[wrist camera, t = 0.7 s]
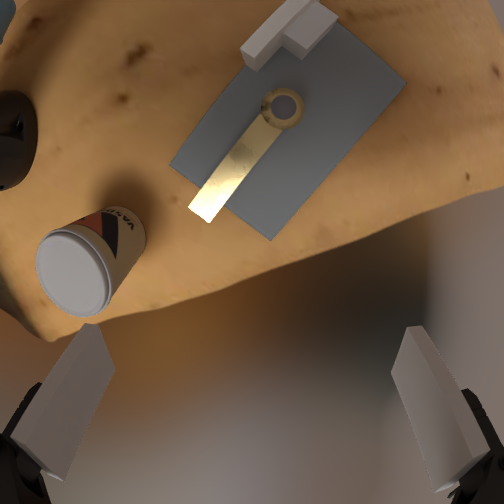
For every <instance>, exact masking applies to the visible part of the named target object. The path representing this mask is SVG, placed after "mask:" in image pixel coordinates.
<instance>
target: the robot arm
mask: <svg viewBox="0 0 504 504" xmlns="http://www.w3.org/2000/svg"><path fill="white" fill-rule="evenodd" d="M15 12H16V5H15V2H14V1H13V0H0V45H1V44H2V42H3V37H4V35H5V33H6V31H7V29H8V27H9V25H10V23H11V21H12V19H13V17H14V15H15ZM36 142H37V124H36V117H35V113H34V110H33V107H32V104H31V103H30V101H29V99H28V98H27V97H26V96H25V95H24V94H23V93H21V92H19V91H14V90H12V91H0V191H4V190H7V189H9V188H12V187H14V186H16V185H18V184H19V183H20V182H21V181H22V180H23V179H24V178H25V176H26V175H27V173H28V171H29V169H30V167H31V164H32V161H33V158H34V154H35V149H36ZM114 371H115V367H114V365H113V362H112V360H111V357H110V355H109V352H108V350H107V347H106V344H105V342H104V339H103V336H102V334H101V331H100V328H99V325H95V324H87V323H85V324H84V325H83V326H82V328H81V329H80V330H79V332H78V333H77V335H76V336H75V337H74V339H73V340H72V342H71V343H70V344H69V346H68V347H67V348H66V350H65V351H64V353H63V354H62V356H61V357H60V358H59V360H58V361H57V363H56V364H55V366H54V367H53V369H52V370H51V371H50V373H49V375H48V376H47V378H46V379H45V381H44V382H43V384H42V383H39V382H38V383H37V384H36V385H34V386H33V387H32V388H31V389H30V390H29V391H28V392H27V394H26V396H25V397H24V400H23V401H22V402H21V403H20V405H19V408H17V410H16V411H15V413H14V415H13V416H12V418H11V419H10V421H9V423H8V424H7V426H6V428H5V430H4V431H3V433H2V434H0V504H51V501H50V498H49V496H48V492H47V489H46V486H45V483H44V479H43V477H42V475H41V473H40V471H41V469H43V470H44V471H45V472H46V473H47V474H48V475H50V476H52V477H54V478H57V479H59V480H61V481H63V482H64V481H65V478H66V476H67V473H68V471H69V468H70V466H71V464H72V461H73V459H74V457H75V454H76V452H77V450H78V447H79V445H80V443H81V441H82V438H83V436H84V434H85V432H86V429H87V427H88V425H89V423H90V420H91V419H92V416H93V414H94V412H95V410H96V408H97V406H98V404H99V402H100V399H101V397H102V395H103V393H104V391H105V389H106V387H107V385H108V383H109V381H110V379H111V377H112V375H113V373H114ZM391 374H392V377H393V379H394V382H395V384H396V387H397V389H398V392H399V394H400V396H401V399H402V402H403V404H404V407H405V409H406V412H407V415H408V417H409V420H410V423H411V425H412V428H413V431H414V434H415V437H416V440H417V442H418V445H419V448H420V451H421V454H422V457H423V460H424V463H425V466H426V469H427V473H428V476H429V479H430V482H431V486H432V489H433V493H436V492H438V491H441V490H444V489H446V488H449V487H451V486H452V485H453V484H455V483H456V482H457V481H458V480H459V483H460V486H458V487H457V488H456V489H455V490H454V491H452V492H451V493H450V494H449V495H448V497H447V498H450V497H452V496H453V495H454V494H455V495H454V498H453V500H452V502H451V504H504V447H503V445H502V444H501V442H500V440H499V438H498V436H497V434H496V432H495V430H494V428H493V426H492V424H491V422H490V420H489V418H488V416H486V412H485V410H484V409H483V408H482V405H481V403H480V401H479V399H478V398H477V396H476V395H475V394H474V393H472V392H471V391H470V390H469V389H468V388H467V389H464V390H460V389H459V387H458V385H457V383H456V381H455V379H454V378H453V376H452V374H451V372H450V371H449V369H448V367H447V366H446V364H445V362H444V361H443V359H442V357H441V355H440V354H439V352H438V351H437V349H436V347H435V346H434V344H433V343H432V341H431V339H430V338H429V336H428V334H427V333H426V331H425V330H424V328H423V327H422V326H415V327H407V329H406V332H405V335H404V338H403V341H402V344H401V347H400V350H399V353H398V355H397V358H396V361H395V363H394V366H393V369H392V371H391Z"/></svg>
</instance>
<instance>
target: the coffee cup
mask: <svg viewBox="0 0 504 504" xmlns="http://www.w3.org/2000/svg"><path fill="white" fill-rule="evenodd" d="M145 242H146V236H145V231H144V227H143V225H142V223H141V221H140V220H139V218H138V217H137V216H136V215H135V214H134V213H133V212H131V211H130V210H128V209H126V208H124V207H120V206H112V207H108V208H105V209H102V210H100V211H97V212H95V213H93V214H90V215H88V216H86V217H83V218H81V219H79V220H77V221H74V222H72V223H70V224H68V225H66V226H64V227H62V228H59V229H55V230H53V231H51V232H49V233H48V234H47V235H46V236H45V237H44V238H43V239H42V241H41V243H40V245H39V248H38V250H37V254H36V271H37V275H38V279H39V281H40V284H41V286H42V288H43V290H44V291H45V293H46V294H47V296H48V297H49V298H50V299H51V301H52V302H53V303H54V304H55V305H56V306H58V307H59V308H60V309H62V310H63V311H65V312H66V313H68V314H71V315H73V316H77V317H89V316H93V315H96V314H99V313H100V312H102V311H103V310H104V309H105V308H106V307H107V305H108V304H109V302H110V300H111V297H112V296H113V295H114V293H115V292H116V290H117V289H118V287H119V286H120V285H121V283H122V282H123V280H124V279H125V277H126V276H127V274H128V273H129V272H130V270H131V269H132V267H133V266H134V264H135V263H136V262H137V260H138V259H139V257H140V256H141V254H142V252H143V250H144V247H145Z"/></svg>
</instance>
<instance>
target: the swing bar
mask: <svg viewBox="0 0 504 504" xmlns="http://www.w3.org/2000/svg"><path fill="white" fill-rule="evenodd" d="M279 95H287V96H290V97H291V98H293V99H294V101H295V102H296V106H297V109H296V112H295V114H294V115H293V116H292V117H291V118H289V119H286V120H281V119H278V118H276V117H275V116H274V115H273V114H272V112H271V103H272V101H273V99H274V98H275V97H277V96H279ZM304 112H305V106H304V102H303V100H302V98H301V97H300V96H299V94H297V93H296V92H295V91H293V90H291V89H288V88H277V89H274V90H271V91H270V92H268V93H267V94H266V95H265V97H264V98H263V100H262V103H261V113H262V114H259V115H258V117H257V118H256V119H255V120H254V121H253V123H252V124H251V125H250V126H249V128H248V129H247V130H246V131H245V133H244V134H243V135H242V136H241V138H240V139H239V140H238V141H237V143H236V144H235V145H234V146H233V148H232V149H231V150H230V152H229V153H228V154H227V156H226V157H225V158H224V159H223V161H222V162H221V163H220V165H219V166H218V167H217V169H216V170H215V171H214V173H213V174H212V175H211V177H210V178H209V179H208V181H207V182H206V183H205V185H204V186H203V187H202V189H201V190H200V192H199V193H198V194H197V196H196V197H195V199H194V200H193V201H192V203H191V204H190V206H189V208H190V209H191V210H193V211H194V212H195V213H197V214H198V215H199V216H201V217H202V218H203V219H205V220H206V221H208V222H209V223H210V221H211V220H212V219H213V217H214V216H215V215H216V213H217V212H218V211H219V209H220V208H221V207H222V206H223V204H224V203H225V202H226V200H227V199H228V198H229V197H230V195H231V194H232V193H233V191H234V190H235V189H236V188H237V186H238V185H239V184H240V182H241V181H242V180H243V179H244V177H245V176H246V175H247V174H248V172H249V171H250V170H251V169H252V167H253V166H254V165H255V164H256V163H257V161H258V160H259V159H260V158H261V156H262V155H263V154H264V153H265V151H266V150H267V149H268V148H269V147H270V145H271V144H272V143H273V142H274V141H275V139H276V138H277V137H278V136H279V135H280V133H281V132H282V131H283V129H289V128H292V127H294V126H296V125H297V124H298V123H299V122H300V121H301V120H302V118H303V116H304Z"/></svg>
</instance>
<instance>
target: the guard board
mask: <svg viewBox="0 0 504 504" xmlns="http://www.w3.org/2000/svg"><path fill="white" fill-rule="evenodd" d="M319 2H320V0H286V1H285V2H284V3H283V4H282V5H281V6H280V7H279V8H278V9H277V10H276V11H275V12H274V13H273V14H272V15H271V16H270V17H269V18H268V19H267V20H266V21H265V22H264V23H263V24H262V25H261V26H260V27H259V28H258V29H257V30H256V31H255V32H254V33H253V34H252V36H251V37H250V38H249V39H248V40H247V41H246V42H245V43H244V44H243V45H242V46H241V48H240V51H241V54H242V56H243V59H244V62H245V66H244V67H243V68H242V69H241V71H240V72H239V73H238V74H237V75H236V76H235V78H234V79H233V80H232V81H231V82H230V84H229V85H228V86H227V87H226V89H225V90H224V91H223V92H222V94H221V95H220V96H219V97H218V99H217V100H216V101H215V102H214V104H213V105H212V106H211V107H210V109H209V110H208V111H207V113H206V114H205V115H204V117H203V118H202V119H201V121H200V122H199V123H198V125H197V126H196V127H195V129H194V130H193V131H192V133H191V134H190V136H189V137H188V138H187V140H186V141H185V143H184V144H183V145H182V147H181V148H180V150H179V151H178V153H177V154H176V156H175V157H174V158H173V160H172V161H171V163H170V164H169V166H171V167H172V168H173V169H175V170H176V171H178V172H179V173H180V174H182V175H183V176H184V177H186V178H187V179H188V180H190V181H191V182H192V183H194V184H195V185H197V186H198V187H199V188H201V189H202V187H203V186H204V185H205V183H206V182H207V181H208V179H209V178H210V177H211V175H212V174H213V173H214V171H215V170H216V169H217V167H218V166H219V165H220V163H221V162H222V161H223V159H224V158H225V157H226V156H227V154H228V153H229V152H230V150H231V149H232V148H233V146H234V145H235V144H236V143H237V141H238V140H239V139H240V138H241V136H242V135H243V134H244V133H245V131H246V130H247V129H248V128H249V126H250V125H251V124H252V123H253V121H254V120H255V119H256V118H257V117H258V115H259V114H262V113H261V103H262V100H263V98H264V97H265V95H266V94H267V93H268V92H270V91H271V90H274V89H277V88H288V89H291V90H293V91H295V92H296V93H297V94H299V96H300V97H301V98H302V100H303V102H304V106H305V112H304V116H303V118H302V120H301V121H300V122H299V123H298V124H297V125H296V126H294V127H292V128H289V129H283V131H282V132H281V133H280V135H279V136H278V137H277V138H276V139H275V141H274V142H273V143H272V144H271V145H270V147H269V148H268V149H267V150H266V151H265V153H264V154H263V155H262V156H261V158H260V159H259V160H258V161H257V163H256V164H255V165H254V166H253V167H252V169H251V170H250V171H249V172H248V174H247V175H246V176H245V177H244V179H243V180H242V181H241V182H240V184H239V185H238V186H237V188H236V189H235V190H234V191H233V193H232V194H231V195H230V197H229V198H228V199H227V200H226V202H225V203H224V204H223V206H225V207H226V208H227V209H229V210H230V211H231V212H233V213H234V214H235V215H237V216H238V217H239V218H241V219H242V220H243V221H245V222H246V223H247V224H249V225H250V226H251V227H253V228H254V229H255V230H257V231H258V232H259V233H261V234H262V235H263V236H265V237H266V238H267V239H268V240H270V241H271V240H272V239H273V238H274V237H275V236H276V235H277V234H278V232H279V231H280V230H281V229H282V228H283V227H284V226H285V224H286V223H287V222H288V221H289V220H290V219H291V217H292V216H293V215H294V214H295V213H296V212H297V211H298V209H299V208H300V207H301V206H302V205H303V204H304V203H305V201H306V200H307V199H308V198H309V197H310V196H311V194H312V193H313V192H314V191H315V190H316V189H317V188H318V186H319V185H320V184H321V183H322V182H323V181H324V179H325V178H326V177H327V176H328V175H329V174H330V173H331V171H332V170H333V169H334V168H335V167H336V166H337V164H338V163H339V162H340V161H341V160H342V159H343V157H344V156H345V155H346V154H347V153H348V152H349V150H350V149H351V148H352V147H353V146H354V145H355V144H356V142H357V141H358V140H359V139H360V138H361V137H362V135H363V134H364V133H365V132H366V131H367V130H368V128H369V127H370V126H371V125H372V124H373V123H374V121H375V120H376V119H377V118H378V117H379V116H380V114H381V113H382V112H383V111H384V110H385V109H386V107H387V106H388V105H389V104H390V103H391V101H392V100H393V99H394V98H395V97H396V96H397V94H398V93H399V92H400V91H401V90H402V89H403V87H404V86H405V85H406V84H407V83H406V82H405V81H404V80H403V79H402V78H401V77H400V76H399V75H398V74H397V73H396V72H395V71H394V70H393V69H392V68H391V67H390V66H389V65H388V64H387V63H386V62H385V61H383V60H382V59H381V58H380V57H379V56H378V55H377V54H376V53H375V52H374V51H372V50H371V49H370V48H369V47H368V46H367V45H365V44H364V43H363V42H362V41H361V40H359V39H358V38H357V37H356V36H355V35H353V34H352V33H351V32H350V31H348V30H347V29H346V28H344V27H343V26H342V25H341V24H339V23H338V22H337V19H338V17H339V16H337V15H336V14H335V13H333V12H332V11H330V10H329V9H328V8H326V7H325V6H323V5H322V4H320V3H319ZM296 109H297V106H296V102H295V101H294V99H293V98H291V97H290V96H287V95H279V96H277V97H275V98H274V99H273V101H272V103H271V112H272V114H273V115H274V116H275V117H276V118H278V119H281V120H286V119H289V118H291V117H292V116H293V115H294V114H295V112H296Z"/></svg>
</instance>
